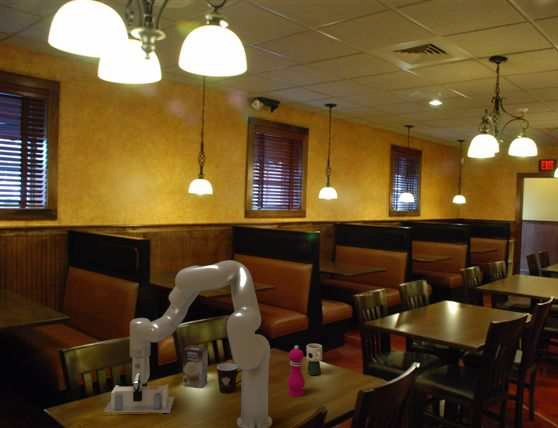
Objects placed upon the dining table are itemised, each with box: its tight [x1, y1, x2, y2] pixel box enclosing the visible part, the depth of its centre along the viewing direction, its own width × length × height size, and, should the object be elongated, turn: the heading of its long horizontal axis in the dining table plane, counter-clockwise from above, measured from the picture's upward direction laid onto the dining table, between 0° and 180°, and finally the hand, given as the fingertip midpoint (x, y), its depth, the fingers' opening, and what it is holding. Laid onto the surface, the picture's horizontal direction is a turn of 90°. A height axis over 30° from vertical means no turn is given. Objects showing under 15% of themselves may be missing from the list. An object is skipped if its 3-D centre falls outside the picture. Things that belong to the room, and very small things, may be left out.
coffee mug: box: [216, 362, 242, 395], centre depth 206 cm, size 12×9×10 cm
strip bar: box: [110, 384, 169, 409], centre depth 189 cm, size 7×20×7 cm, turn 95°
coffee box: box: [182, 344, 209, 389], centre depth 213 cm, size 9×6×16 cm
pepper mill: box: [286, 345, 306, 397], centre depth 204 cm, size 7×7×20 cm
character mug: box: [306, 343, 323, 376], centre depth 227 cm, size 11×7×13 cm, turn 24°
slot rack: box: [103, 386, 175, 414], centre depth 189 cm, size 12×24×6 cm, turn 95°
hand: (140, 395), depth 189 cm, fingers open, 9 cm apart
